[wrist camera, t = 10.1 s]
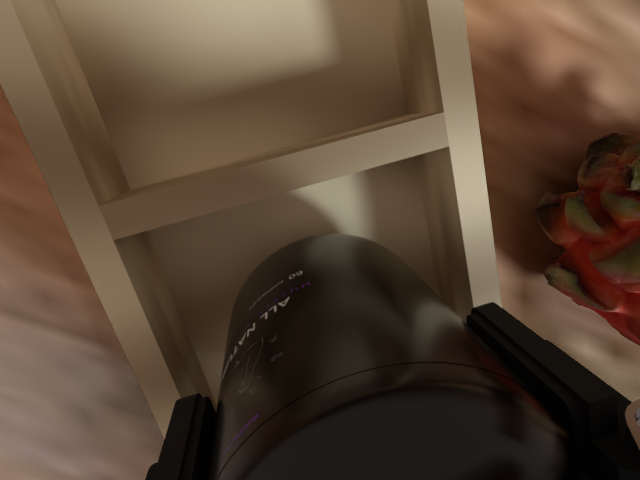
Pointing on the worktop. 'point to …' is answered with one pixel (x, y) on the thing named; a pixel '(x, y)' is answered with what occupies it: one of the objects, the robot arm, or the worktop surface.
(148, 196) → the rack
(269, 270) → the supplement bottle
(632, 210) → the dragon fruit
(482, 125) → the worktop surface
